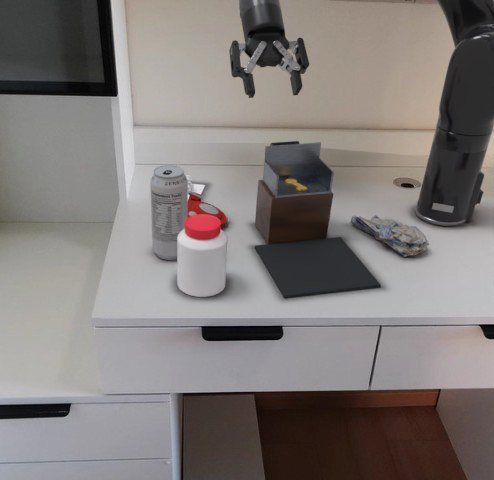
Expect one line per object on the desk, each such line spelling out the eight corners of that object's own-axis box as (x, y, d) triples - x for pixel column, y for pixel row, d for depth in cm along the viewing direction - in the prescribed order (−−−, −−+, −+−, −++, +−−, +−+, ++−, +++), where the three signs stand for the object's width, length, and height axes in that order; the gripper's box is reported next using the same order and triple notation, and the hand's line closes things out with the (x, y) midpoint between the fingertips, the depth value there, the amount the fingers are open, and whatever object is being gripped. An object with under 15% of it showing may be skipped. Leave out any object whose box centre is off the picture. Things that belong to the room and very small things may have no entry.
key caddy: (254, 171, 113) (257, 136, 109) (306, 167, 114) (310, 132, 111) (274, 198, 103) (278, 161, 100) (330, 193, 105) (336, 156, 101)
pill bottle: (235, 283, 98) (239, 222, 92) (201, 303, 94) (203, 239, 88) (201, 265, 103) (202, 206, 96) (167, 283, 98) (166, 221, 92)
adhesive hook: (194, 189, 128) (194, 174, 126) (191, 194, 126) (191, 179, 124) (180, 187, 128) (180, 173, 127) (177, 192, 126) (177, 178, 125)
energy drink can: (192, 247, 108) (193, 166, 99) (179, 264, 103) (179, 180, 95) (161, 241, 110) (159, 161, 101) (147, 257, 105) (143, 175, 96)
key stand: (254, 225, 115) (258, 179, 110) (310, 219, 117) (316, 175, 111) (267, 245, 108) (271, 198, 103) (326, 239, 110) (333, 193, 105)
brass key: (282, 181, 108) (282, 180, 108) (291, 179, 109) (291, 177, 109) (300, 191, 104) (300, 190, 104) (309, 189, 105) (310, 187, 105)
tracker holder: (239, 217, 115) (202, 222, 108) (230, 237, 117) (194, 243, 110) (197, 183, 121) (160, 186, 114) (190, 203, 123) (153, 206, 116)
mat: (254, 247, 108) (254, 245, 108) (340, 239, 110) (340, 236, 110) (284, 298, 95) (284, 295, 95) (380, 287, 98) (380, 284, 97)
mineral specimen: (434, 255, 106) (439, 234, 104) (392, 263, 104) (397, 241, 102) (386, 218, 118) (390, 198, 115) (347, 225, 115) (351, 204, 113)
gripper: (228, 2, 110) (241, 85, 108) (303, -1, 112) (318, 81, 110) (220, 28, 117) (232, 107, 115) (291, 25, 120) (305, 102, 117)
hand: (274, 94), depth 112 cm, fingers open, 8 cm apart
